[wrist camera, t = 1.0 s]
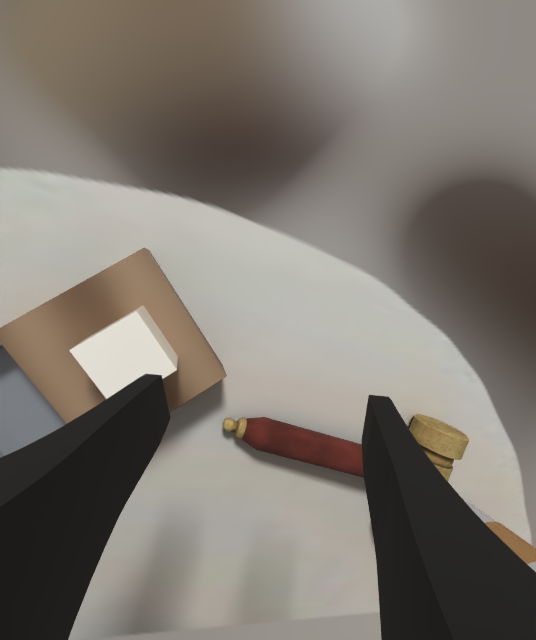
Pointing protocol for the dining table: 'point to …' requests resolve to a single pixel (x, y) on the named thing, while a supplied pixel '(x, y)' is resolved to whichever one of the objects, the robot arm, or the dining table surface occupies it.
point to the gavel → (345, 443)
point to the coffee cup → (509, 538)
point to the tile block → (125, 352)
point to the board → (97, 313)
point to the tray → (22, 408)
